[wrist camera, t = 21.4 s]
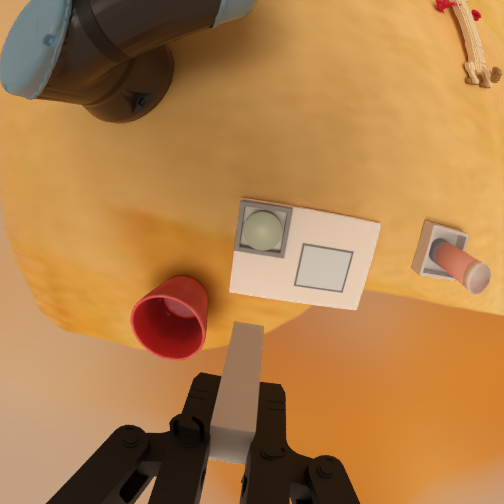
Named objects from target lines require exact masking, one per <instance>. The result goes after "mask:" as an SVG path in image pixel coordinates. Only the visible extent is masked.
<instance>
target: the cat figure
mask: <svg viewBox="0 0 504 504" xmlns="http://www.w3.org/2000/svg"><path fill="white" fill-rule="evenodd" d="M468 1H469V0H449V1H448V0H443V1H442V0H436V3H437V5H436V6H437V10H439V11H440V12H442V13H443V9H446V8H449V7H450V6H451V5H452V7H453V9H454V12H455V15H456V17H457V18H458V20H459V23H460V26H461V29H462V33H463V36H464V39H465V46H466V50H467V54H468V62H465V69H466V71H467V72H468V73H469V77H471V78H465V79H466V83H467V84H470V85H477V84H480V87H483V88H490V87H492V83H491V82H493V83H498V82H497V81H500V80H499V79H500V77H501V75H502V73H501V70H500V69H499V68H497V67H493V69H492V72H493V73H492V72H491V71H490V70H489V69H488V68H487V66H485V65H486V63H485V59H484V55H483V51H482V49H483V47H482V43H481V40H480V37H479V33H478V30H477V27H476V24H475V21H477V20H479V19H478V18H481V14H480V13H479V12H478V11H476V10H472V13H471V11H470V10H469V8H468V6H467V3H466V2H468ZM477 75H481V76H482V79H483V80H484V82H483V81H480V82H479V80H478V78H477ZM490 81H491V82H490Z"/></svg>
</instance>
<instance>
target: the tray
mask: <svg viewBox="0 0 504 504" xmlns="http://www.w3.org/2000/svg"><path fill="white" fill-rule="evenodd" d="M468 237H469V234H467V233H465V232H463V231H461V230H458V229H455V228H452V227H448V226H445V225H441V224H438V223H434V222H431V221H427V220H424V224H423V228H422V232H421V236H420V240H419V243H418V247H417V250H416V254H415V257H414V260H413V263H412V267H411V268H412V269H413V270H414V271H415V272H416V273H417V274H418V275H421V276H427V277H434V278H440V279H446V280H452V281H455V278H454V277H453V276H451V275H450V274H449V273H448V272H446V271H445V270H444V269H442V268H441V267H440V266H438V265H437V264H436V263H434V262H433V261H432V260H431V259H430V258H429V251H430V247H431V244H432V242H433V241H434V240H435V239H437V238H442V239H444V240H446V241H448V242H449V243H451V244H452V245H454V246H456V247H457V248H459V249H461V250H462V251H465V248H466V245H467V241H468Z"/></svg>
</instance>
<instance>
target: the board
mask: <svg viewBox="0 0 504 504" xmlns="http://www.w3.org/2000/svg"><path fill="white" fill-rule="evenodd" d="M260 210H265V211H269V212H272V213H273V214H275V215H276V216H277V217H278V218H279V220H280V222H281V226H282V237H281V240H280V241H279V243H278V244H277V245H276V246H275V247H274V248H272V249H269V250H265V251H261V250H256V249H254V248H252V247H251V246H249V245H248V243H247V242H246V241H245V238H244V235H243V228H244V225H245V222H246V220H247V218H248V217H249V216H250V215H251V214H252V213H254V212H256V211H260ZM380 228H381V224H380V223H379V222H375V221H371V220H366V219H361V218H356V217H352V216H347V215H341V214H336V213H331V212H326V211H321V210H315V209H310V208H304V207H298V206H293V205H287V204H281V203H275V202H268V201H262V200H255V199H249V198H241V202H240V209H239V217H238V224H237V232H236V239H235V247H234V257H233V265H232V273H231V281H230V289H229V292H231V293H237V294H243V295H249V296H256V297H262V298H269V299H275V300H282V301H289V302H296V303H303V304H310V305H318V306H326V307H334V308H343V309H350V310H357V306H358V304H359V301H360V298H361V294H362V292H363V288H364V285H365V282H366V279H367V275H368V272H369V269H370V265H371V262H372V258H373V255H374V251H375V247H376V244H377V240H378V236H379V232H380Z"/></svg>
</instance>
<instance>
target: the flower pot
mask: <svg viewBox="0 0 504 504" xmlns="http://www.w3.org/2000/svg"><path fill="white" fill-rule="evenodd" d="M207 315H208V296H207V293H206V291H205V289H204V287H203V286H202V285H201V284H200V283H199V282H198V281H196V280H195V279H193V278H190V277H187V276H176V277H173V278H171V279H169V280H167V281H166V282H164V283H163V284H161V285H160V286H158V287H157V288H155V289H154V290H153V291H151V292H150V293H149V294H147V295H146V296H145V297H143V298H142V299H141V300H140V301H138V302H137V304H136V305H135V306H134V308H133V310H132V313H131V326H132V330H133V333H134V335H135V337H136V338H137V340H138V341H139V342H140V343H141V344H142V346H144V347H145V348H146V349H147V350H148V351H150V352H151V353H153V354H154V355H157V356H158V357H161V358H164V359H168V360H184V359H188V358H191V357H192V356H194V355H195V354H197V353H198V352H199V351H200V350H201V348H202V346H203V344H204V342H205V338H206V329H207Z"/></svg>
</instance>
